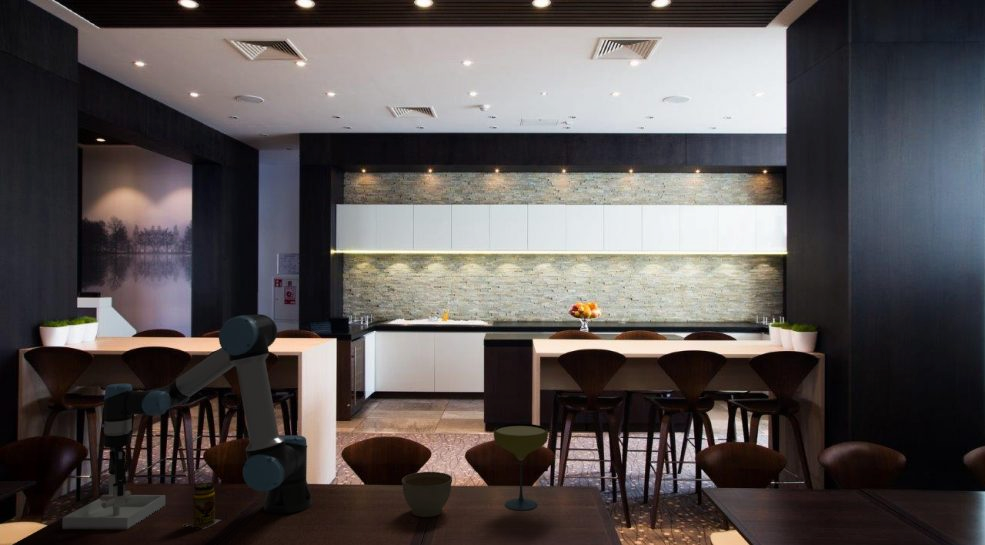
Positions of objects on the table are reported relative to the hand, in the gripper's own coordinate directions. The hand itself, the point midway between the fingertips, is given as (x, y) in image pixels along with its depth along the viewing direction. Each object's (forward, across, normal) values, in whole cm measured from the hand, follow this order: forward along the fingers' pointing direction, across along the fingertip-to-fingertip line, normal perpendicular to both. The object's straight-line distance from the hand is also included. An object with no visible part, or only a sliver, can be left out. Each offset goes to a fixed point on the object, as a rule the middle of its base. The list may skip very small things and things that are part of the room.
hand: (116, 500), depth 192 cm
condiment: (+5, +23, +20) cm, 31 cm away
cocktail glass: (+5, +73, +107) cm, 130 cm away
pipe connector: (+5, 0, 0) cm, 5 cm away
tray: (+5, 0, 0) cm, 5 cm away
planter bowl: (+5, +59, +79) cm, 99 cm away
